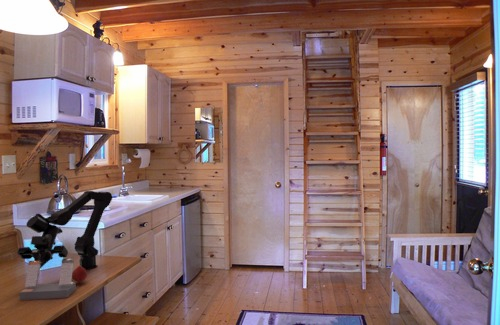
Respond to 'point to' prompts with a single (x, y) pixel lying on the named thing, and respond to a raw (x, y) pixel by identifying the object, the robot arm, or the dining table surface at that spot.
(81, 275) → the onion
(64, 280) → the grey lever
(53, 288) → the switch box
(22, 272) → the dining table surface
